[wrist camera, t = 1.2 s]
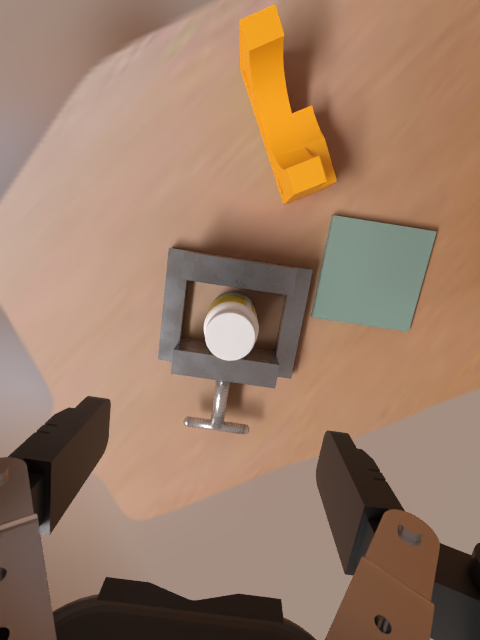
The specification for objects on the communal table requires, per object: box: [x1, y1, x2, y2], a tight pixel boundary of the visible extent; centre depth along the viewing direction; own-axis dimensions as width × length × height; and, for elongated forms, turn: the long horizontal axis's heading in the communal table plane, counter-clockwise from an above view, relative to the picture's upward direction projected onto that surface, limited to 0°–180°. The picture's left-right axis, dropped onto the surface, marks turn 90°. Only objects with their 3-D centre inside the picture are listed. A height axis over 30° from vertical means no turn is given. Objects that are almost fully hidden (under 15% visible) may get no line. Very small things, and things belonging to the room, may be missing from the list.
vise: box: [158, 248, 313, 434], centre depth 32 cm, size 14×18×4 cm
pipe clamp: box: [240, 4, 337, 204], centre depth 26 cm, size 12×4×6 cm, turn 20°
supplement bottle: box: [204, 292, 259, 361], centre depth 29 cm, size 5×5×8 cm
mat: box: [311, 215, 437, 332], centre depth 32 cm, size 10×10×1 cm
